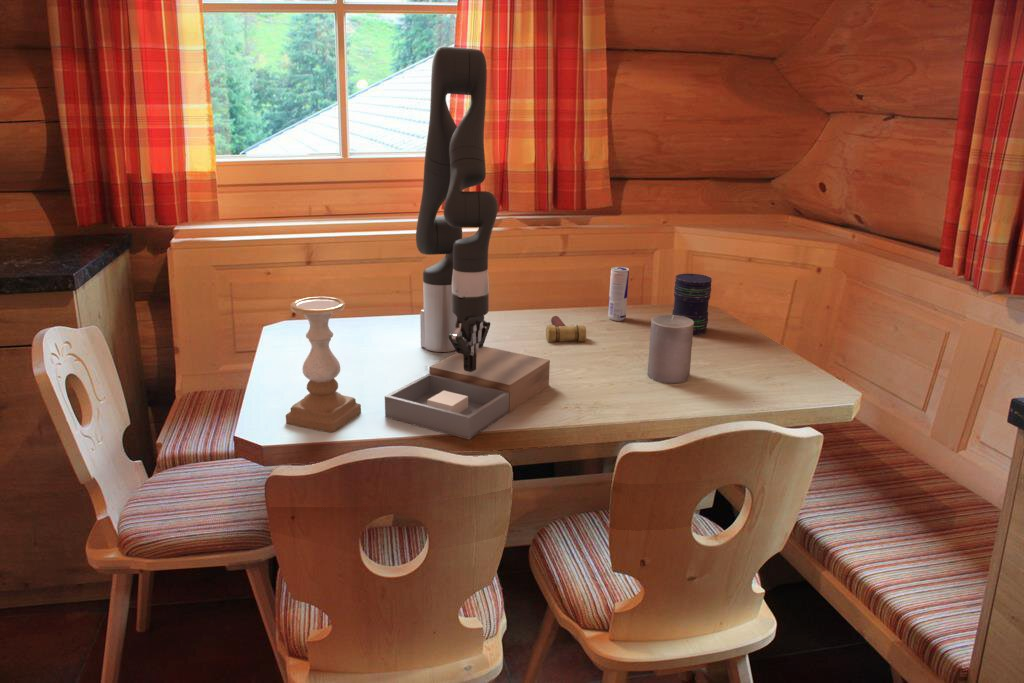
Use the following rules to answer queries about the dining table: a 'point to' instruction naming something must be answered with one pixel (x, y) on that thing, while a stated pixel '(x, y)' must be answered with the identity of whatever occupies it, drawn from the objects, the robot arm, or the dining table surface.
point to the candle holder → (321, 372)
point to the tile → (449, 401)
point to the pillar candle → (670, 348)
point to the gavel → (564, 331)
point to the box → (466, 424)
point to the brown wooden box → (499, 372)
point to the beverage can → (618, 293)
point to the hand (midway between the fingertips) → (469, 370)
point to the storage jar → (693, 299)
